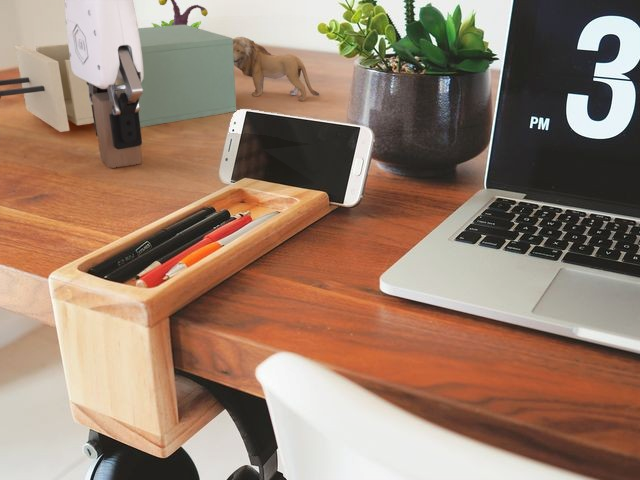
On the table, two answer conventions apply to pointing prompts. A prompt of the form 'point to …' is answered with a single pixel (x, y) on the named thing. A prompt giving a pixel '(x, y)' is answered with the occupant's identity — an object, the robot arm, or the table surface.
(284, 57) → the lion figurine
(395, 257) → the table surface
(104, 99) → the wooden block
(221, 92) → the cabinet
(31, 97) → the drawer
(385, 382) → the table surface
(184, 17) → the plant
